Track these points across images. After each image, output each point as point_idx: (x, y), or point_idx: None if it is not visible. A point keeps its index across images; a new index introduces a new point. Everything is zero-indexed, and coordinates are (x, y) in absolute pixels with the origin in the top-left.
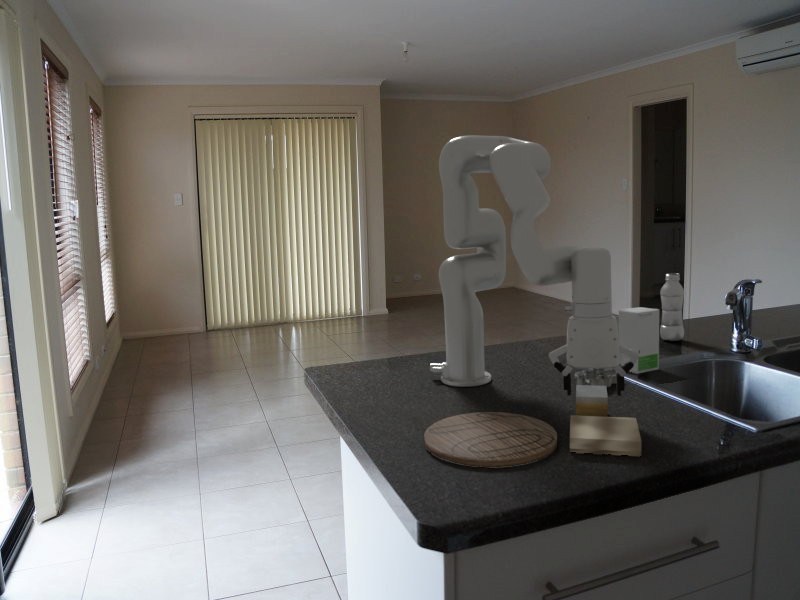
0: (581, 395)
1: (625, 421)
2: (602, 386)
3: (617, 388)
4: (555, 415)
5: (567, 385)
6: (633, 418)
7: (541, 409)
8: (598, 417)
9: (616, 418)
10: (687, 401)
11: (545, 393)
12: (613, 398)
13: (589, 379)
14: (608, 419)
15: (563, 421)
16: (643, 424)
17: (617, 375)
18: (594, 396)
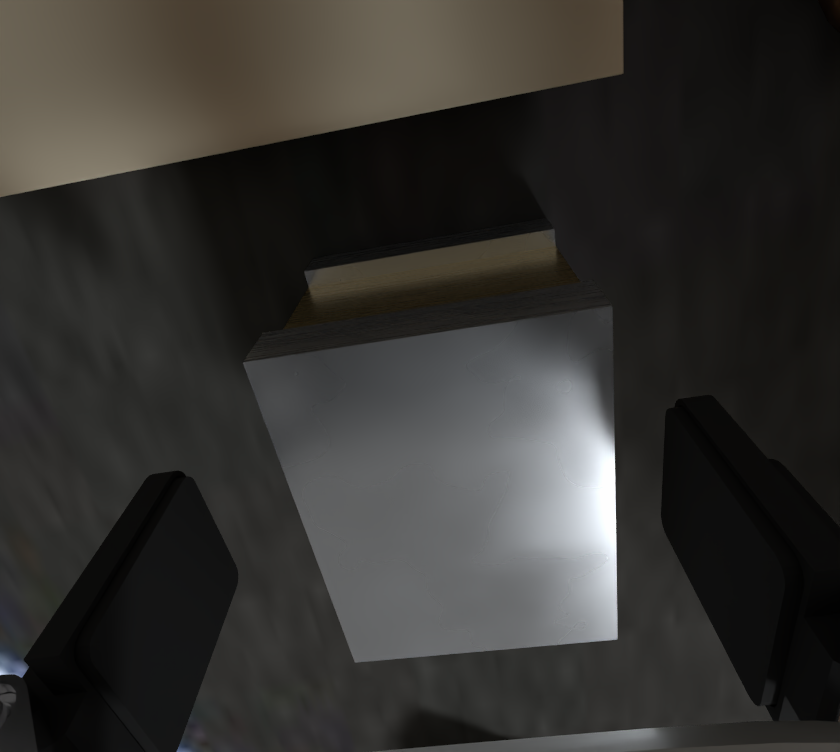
0: (547, 367)
1: (30, 45)
2: (381, 644)
3: (154, 527)
4: (709, 378)
5: (766, 462)
6: (4, 170)
7: (804, 462)
8: (323, 93)
9: (148, 120)
10: None
11: None
12: (386, 684)
13: None
14: (210, 58)
15: (649, 272)
16: (106, 364)
17: (119, 713)
18: (395, 369)
